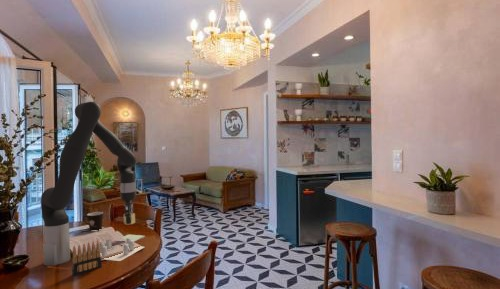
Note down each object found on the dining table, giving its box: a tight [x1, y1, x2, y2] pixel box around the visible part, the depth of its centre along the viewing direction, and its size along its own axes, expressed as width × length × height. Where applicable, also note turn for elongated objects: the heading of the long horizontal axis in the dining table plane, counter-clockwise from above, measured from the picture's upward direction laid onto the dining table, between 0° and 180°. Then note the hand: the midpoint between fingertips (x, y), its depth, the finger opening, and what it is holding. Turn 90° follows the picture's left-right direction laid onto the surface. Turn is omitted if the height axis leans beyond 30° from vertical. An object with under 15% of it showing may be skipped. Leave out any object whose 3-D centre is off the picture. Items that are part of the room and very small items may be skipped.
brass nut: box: [123, 212, 136, 226], centre depth 166 cm, size 6×5×5 cm
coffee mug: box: [82, 211, 104, 231], centre depth 186 cm, size 12×9×10 cm
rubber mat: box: [121, 234, 146, 243], centre depth 166 cm, size 11×11×1 cm
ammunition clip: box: [71, 240, 103, 277], centre depth 127 cm, size 11×2×12 cm, turn 132°
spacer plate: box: [99, 238, 145, 262], centre depth 147 cm, size 18×18×5 cm
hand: (129, 222), depth 166 cm, fingers closed on brass nut, 5 cm apart
